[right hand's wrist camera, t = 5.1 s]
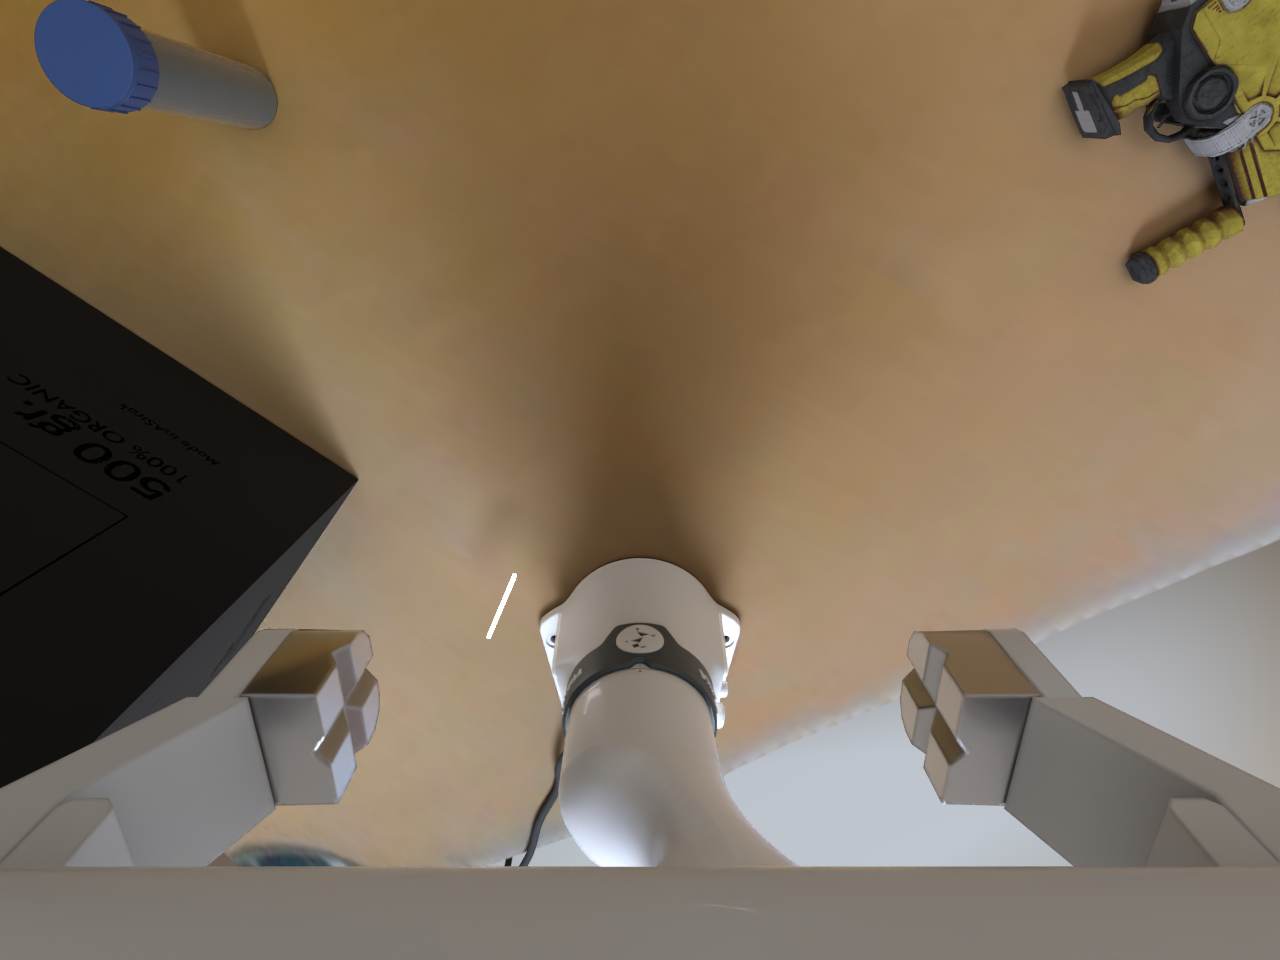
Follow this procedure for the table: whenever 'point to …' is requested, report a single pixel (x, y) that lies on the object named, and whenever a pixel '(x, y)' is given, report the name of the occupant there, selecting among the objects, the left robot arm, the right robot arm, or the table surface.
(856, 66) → the table surface
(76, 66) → the lid
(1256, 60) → the toy gun
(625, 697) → the right robot arm
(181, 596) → the cardboard box
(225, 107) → the jar
